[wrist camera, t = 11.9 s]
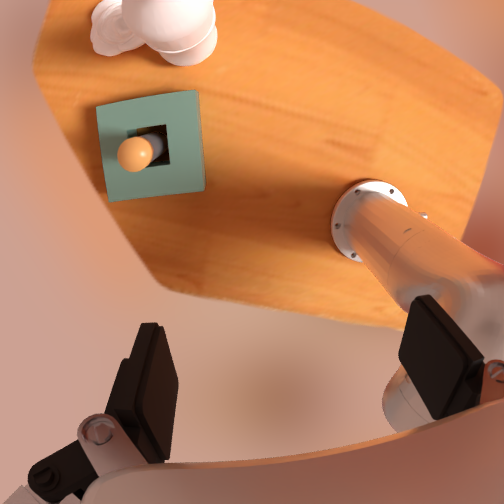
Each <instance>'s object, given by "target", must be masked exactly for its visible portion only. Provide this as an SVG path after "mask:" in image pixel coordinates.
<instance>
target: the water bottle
mask: <svg viewBox="0 0 504 504" xmlns="http://www.w3.org/2000/svg"><path fill="white" fill-rule="evenodd" d="M121 9H122V15H123V19H124V21H125V23H126V25H127V27H128V28H129V29H130V31H131V32H133V33H134V34H135V35H136V36H138V37H140V38H141V39H143V40H144V42H145V43H146V44H147V45H148V46H150V47H151V48H152V49H154V50H155V51H157V52H159V53H160V55H161V56H162V57H163V58H164V59H165V60H166V61H168V62H170V63H172V64H174V65H177V66H192V65H196V64H198V63H200V62H202V61H203V60H204V59H206V58H207V57H208V56H210V55H211V54H212V52H213V50H214V49H215V46H216V43H217V29H216V26H215V10H214V7H213V0H122V5H121Z"/></svg>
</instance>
